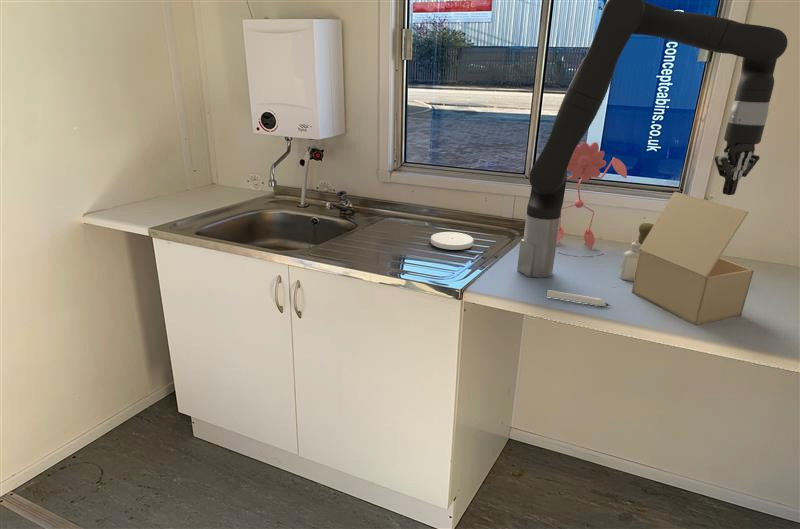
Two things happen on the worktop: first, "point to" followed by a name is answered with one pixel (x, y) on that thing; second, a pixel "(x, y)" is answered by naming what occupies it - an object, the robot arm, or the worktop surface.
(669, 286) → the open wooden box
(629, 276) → the eye dropper bottle
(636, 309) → the worktop surface
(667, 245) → the lid flap
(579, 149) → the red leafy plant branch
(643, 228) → the cork
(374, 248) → the worktop surface
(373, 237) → the worktop surface
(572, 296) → the marker
